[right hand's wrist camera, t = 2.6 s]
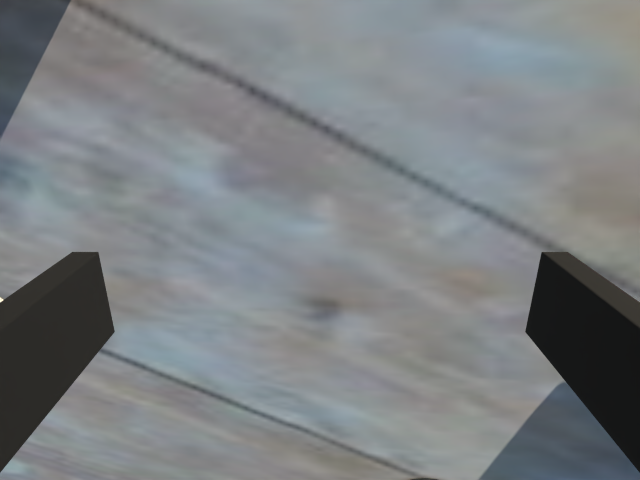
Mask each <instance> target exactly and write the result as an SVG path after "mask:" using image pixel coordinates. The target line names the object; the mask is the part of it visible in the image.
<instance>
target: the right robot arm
mask: <svg viewBox="0 0 640 480" xmlns="http://www.w3.org/2000/svg"><path fill="white" fill-rule="evenodd" d="M114 332H115V331H114V326H113V322H112V317H111V312H110V307H109V302H108V297H107V292H106V288H105V283H104V278H103V273H102V268H101V263H100V258H99V253H98V252H72V253H70V254H69V255H67V256H66V257H65V258H63V259H62V260H60V261H59V262H57V263H56V264H55V265H53V266H52V267H50V268H49V269H47V270H46V271H45V272H43V273H42V274H40V275H39V276H37V277H36V278H35V279H33V280H32V281H30V282H29V283H27V284H26V285H25V286H23V287H22V288H20V289H19V290H17V291H16V292H15V293H13V294H12V295H10V296H9V297H7V298H6V299H4V300H3V301H2V302H0V472H1V471H2V470H3V468H4V467H5V466H6V465H7V464H8V462H9V461H10V460H11V459H12V457H13V456H14V455H15V454H16V452H17V451H18V450H19V449H20V448H21V446H22V445H23V444H24V443H25V441H26V440H27V439H28V438H29V436H30V435H31V434H32V433H33V432H34V430H35V429H36V428H37V427H38V425H39V424H40V423H41V422H42V420H43V419H44V418H45V417H46V416H47V414H48V413H49V412H50V411H51V409H52V408H53V407H54V406H55V404H56V403H57V402H58V401H59V400H60V398H61V397H62V396H63V395H64V393H65V392H66V391H67V390H68V388H69V387H70V386H71V385H72V384H73V382H74V381H75V380H76V379H77V377H78V376H79V375H80V374H81V372H82V371H83V370H84V369H85V368H86V366H87V365H88V364H89V363H90V361H91V360H92V359H93V358H94V356H95V355H96V354H97V353H98V352H99V350H100V349H101V348H102V347H103V345H104V344H105V343H106V342H107V341H108V339H109V338H110V337H111V336H112V334H113V333H114ZM525 332H526V333H527V334H528V336H529V337H530V338H531V339H532V341H533V342H534V343H535V344H536V345H537V347H538V348H539V349H540V350H541V352H542V353H543V354H544V355H545V356H546V358H547V359H548V360H549V361H550V363H551V364H552V365H553V366H554V368H555V369H556V370H557V371H558V372H559V374H560V375H561V376H562V377H563V379H564V380H565V381H566V382H567V384H568V385H569V386H570V387H571V388H572V390H573V391H574V392H575V393H576V395H577V396H578V397H579V398H580V400H581V401H582V402H583V403H584V404H585V406H586V407H587V408H588V409H589V411H590V412H591V413H592V414H593V416H594V417H595V418H596V419H597V420H598V422H599V423H600V424H601V425H602V427H603V428H604V429H605V430H606V432H607V433H608V434H609V435H610V436H611V438H612V439H613V440H614V441H615V443H616V444H617V445H618V446H619V448H620V449H621V450H622V451H623V452H624V454H625V455H626V456H627V457H628V459H629V460H630V461H631V462H632V464H633V465H634V466H635V467H636V468H637V470H638V471H639V472H640V302H638V301H637V300H636V299H634V298H633V297H631V296H630V295H628V294H627V293H625V292H624V291H623V290H621V289H620V288H618V287H617V286H615V285H614V284H613V283H611V282H610V281H608V280H607V279H605V278H604V277H603V276H601V275H600V274H598V273H597V272H595V271H594V270H593V269H591V268H590V267H588V266H587V265H585V264H584V263H583V262H581V261H580V260H578V259H577V258H575V257H574V256H573V255H571V254H570V253H568V252H542V253H541V258H540V263H539V268H538V273H537V278H536V283H535V288H534V292H533V297H532V302H531V307H530V312H529V317H528V322H527V326H526V331H525ZM412 480H437V479H412Z"/></svg>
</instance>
